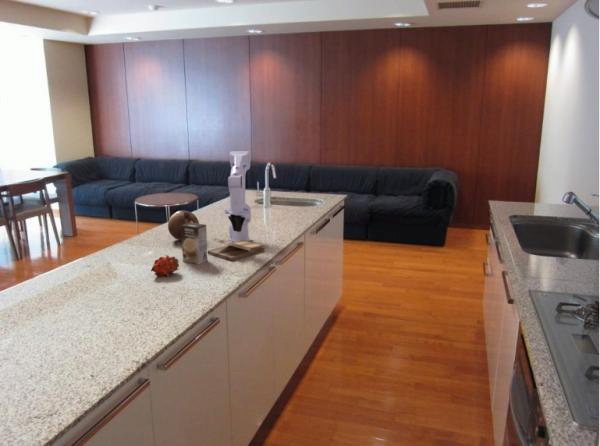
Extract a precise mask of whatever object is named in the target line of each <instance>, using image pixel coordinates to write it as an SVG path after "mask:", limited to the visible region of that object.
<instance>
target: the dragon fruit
mask: <svg viewBox="0 0 600 446" xmlns="http://www.w3.org/2000/svg"><path fill="white" fill-rule="evenodd" d="M179 263H180V262H179V259H177V258H176V256H169V255H167V254H166V255H165V256H159V258H158V259H155V261H154V263H153V265H152V267H151V270H150V272H154V275H155V277H157V276H158V277H163V276H167V277H169V276H171V275H173V274H174V272H177V271H178V270H179V267H180V265H179Z"/></svg>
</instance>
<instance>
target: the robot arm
mask: <svg viewBox="0 0 600 446" xmlns="http://www.w3.org/2000/svg"><path fill="white" fill-rule="evenodd" d="M229 163H230V167H231V169H230V176H228V178H227V182H228V183H227V184H228V192H229V205H230V206H229V207H230V209H229V208H226V209H224V214H225V215H227V214H228V216H227V217H228V219H229V221H230V223H229V229H228V230H229V238H228V241H229V242H235V241H239V240H244V241H248V242H252V241H253V239H252V238H249V237H250V236H249V234H250V233H249V223H250V222H251V221H252V211H251V210H252V209H251V206H250V205H248V204H247V203H246V174H247V171H248V170H250V168H251V152H250V150H246V151H238V150H237V151H232V150H231V151H230V152H229Z"/></svg>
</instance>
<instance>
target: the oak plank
mask: <svg viewBox="0 0 600 446" xmlns="http://www.w3.org/2000/svg"><path fill="white" fill-rule="evenodd" d="M213 241H215V242H218V243H221V244H224V245H226V246H227V245H230V246H234V247H238V248H241V249H245V250H249V251H250V250H251V248H248V247H245V246H242V245H238V244H235V243H232V242H233V241H229V240H228V241H226V240H224V239H219V238H217V237H214V239H213Z"/></svg>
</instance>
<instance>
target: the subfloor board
mask: <svg viewBox="0 0 600 446" xmlns="http://www.w3.org/2000/svg"><path fill="white" fill-rule="evenodd" d="M231 242H232V243H235V244H238V245H242V246H245V247H248V248H251V250H250V251H249V250H245V249H241V248H238V247H234V246H230V245H227V244H226V245H224V246H219V247H216V248H213V249H212V248H211V249H209V250H207V255H210V256H213V257H217V258H219V259H224V260H227V261H231V262H232V261H235V260H239V259H242V258H246V257H248V256H253V255H256V254H258V253H262V252H265V247H263V246H262V244H259V243H255V242H252V241H244V240H239V241H235V242H234V241H231Z"/></svg>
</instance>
